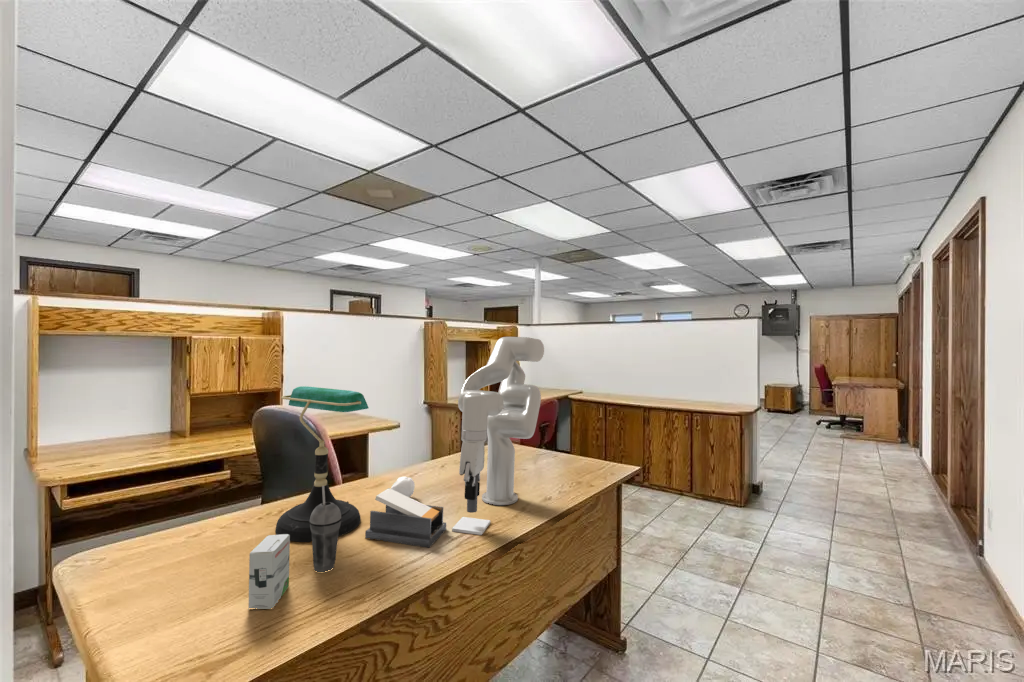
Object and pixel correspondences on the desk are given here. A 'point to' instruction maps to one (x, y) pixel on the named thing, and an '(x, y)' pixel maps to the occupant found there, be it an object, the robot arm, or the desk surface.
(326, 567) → the beverage cup
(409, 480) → the white lumpy ball
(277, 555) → the ink box
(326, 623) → the desk surface
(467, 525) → the mat
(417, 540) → the tilting lid box
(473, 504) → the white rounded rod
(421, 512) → the tilting box lid
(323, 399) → the banker's lamp
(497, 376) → the robot arm
